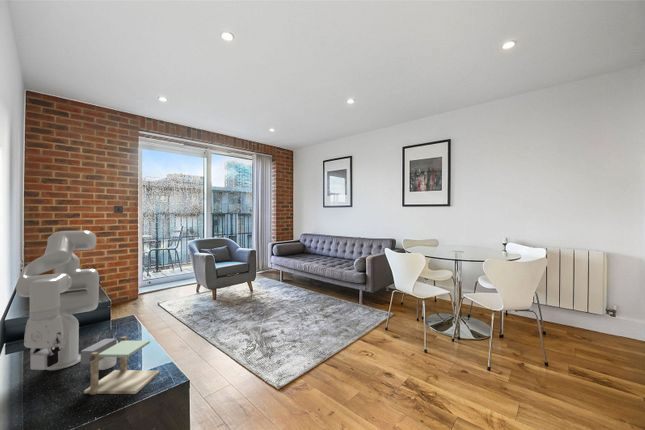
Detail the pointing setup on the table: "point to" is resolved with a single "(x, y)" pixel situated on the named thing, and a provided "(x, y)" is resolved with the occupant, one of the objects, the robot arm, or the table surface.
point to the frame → (118, 378)
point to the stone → (40, 360)
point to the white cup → (107, 362)
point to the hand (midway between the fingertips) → (45, 363)
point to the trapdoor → (112, 349)
